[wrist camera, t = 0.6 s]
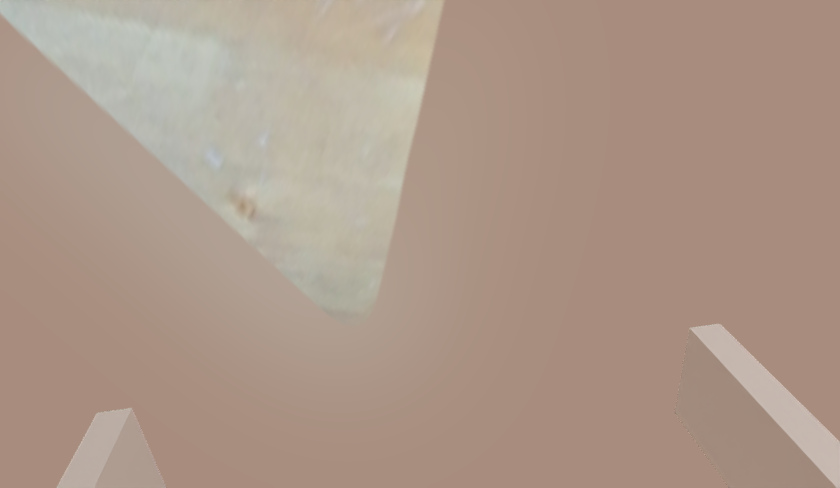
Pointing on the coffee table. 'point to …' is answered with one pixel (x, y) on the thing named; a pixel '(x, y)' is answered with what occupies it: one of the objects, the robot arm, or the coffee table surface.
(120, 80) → the coffee table surface
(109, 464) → the robot arm
